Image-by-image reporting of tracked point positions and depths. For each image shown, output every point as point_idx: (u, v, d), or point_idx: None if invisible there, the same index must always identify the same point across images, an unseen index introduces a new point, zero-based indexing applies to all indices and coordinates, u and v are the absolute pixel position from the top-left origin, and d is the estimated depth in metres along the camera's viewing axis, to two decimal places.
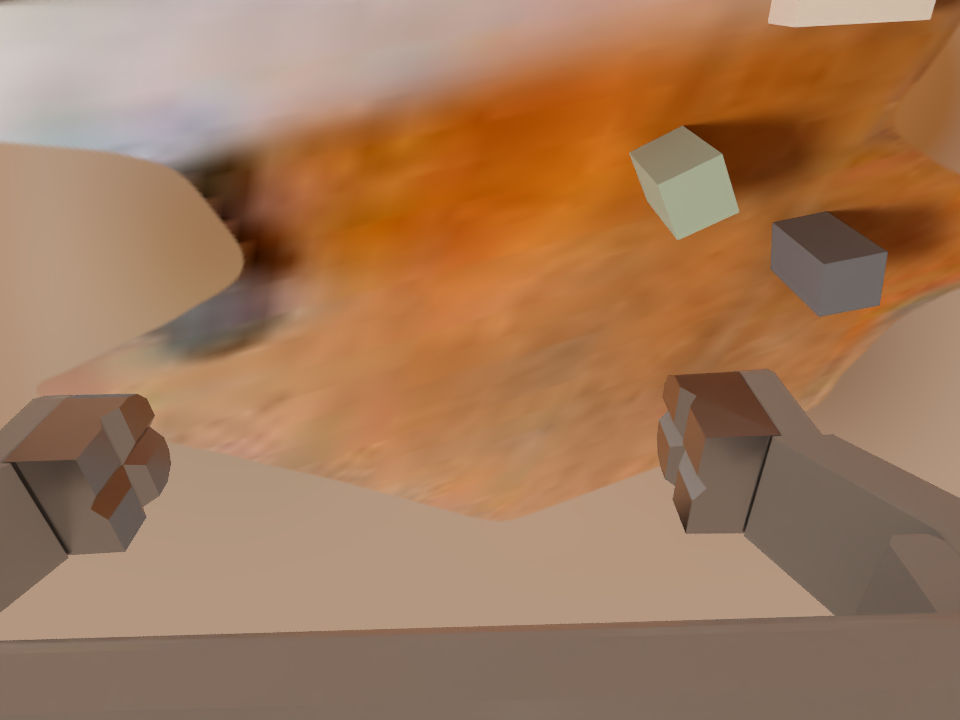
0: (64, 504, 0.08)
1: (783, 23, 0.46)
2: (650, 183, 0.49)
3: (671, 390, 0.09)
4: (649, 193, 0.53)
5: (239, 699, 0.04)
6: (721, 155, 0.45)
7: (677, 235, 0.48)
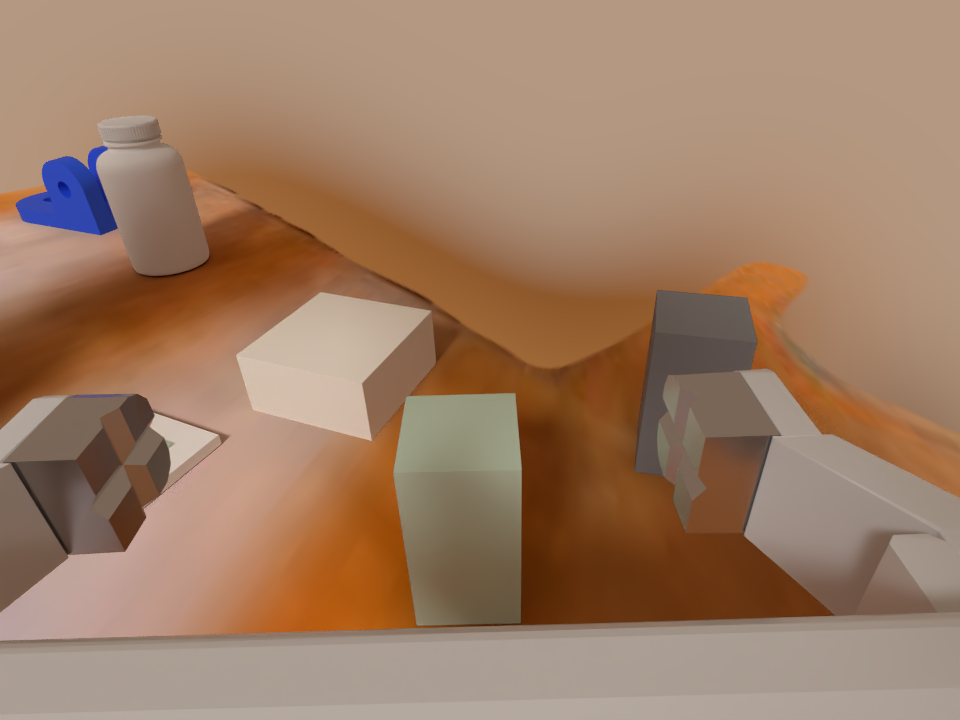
0: (64, 504, 0.08)
1: (364, 406, 0.39)
2: (427, 534, 0.25)
3: (671, 390, 0.09)
4: (474, 576, 0.27)
5: (239, 699, 0.04)
6: (408, 397, 0.27)
7: (511, 467, 0.23)
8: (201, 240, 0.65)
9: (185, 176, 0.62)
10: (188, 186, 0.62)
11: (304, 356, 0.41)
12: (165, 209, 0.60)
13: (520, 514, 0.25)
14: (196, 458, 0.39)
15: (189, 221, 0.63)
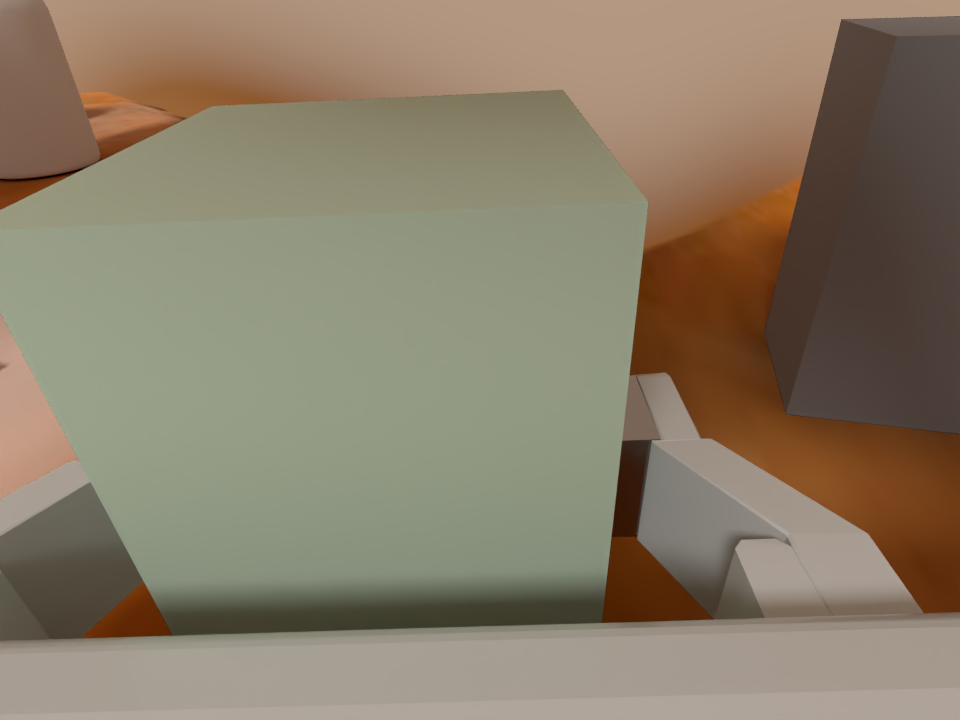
0: None
1: None
2: (228, 554, 0.06)
3: None
4: None
5: (239, 699, 0.04)
6: (217, 108, 0.09)
7: (589, 197, 0.04)
8: (81, 132, 0.46)
9: (51, 33, 0.43)
10: (57, 49, 0.44)
11: None
12: (16, 74, 0.42)
13: (614, 465, 0.06)
14: None
15: (59, 99, 0.44)
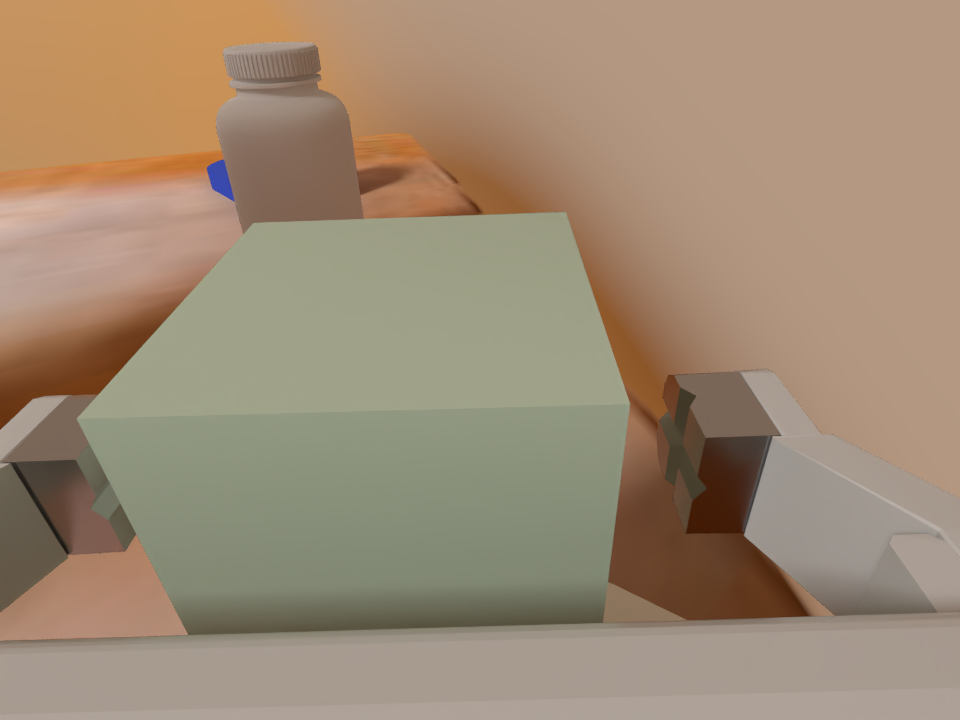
0: (64, 504, 0.08)
1: None
2: None
3: (671, 390, 0.09)
4: None
5: (239, 699, 0.04)
6: (258, 225, 0.10)
7: (582, 396, 0.05)
8: None
9: (344, 149, 0.37)
10: (347, 167, 0.37)
11: None
12: (298, 201, 0.36)
13: (603, 582, 0.07)
14: None
15: None
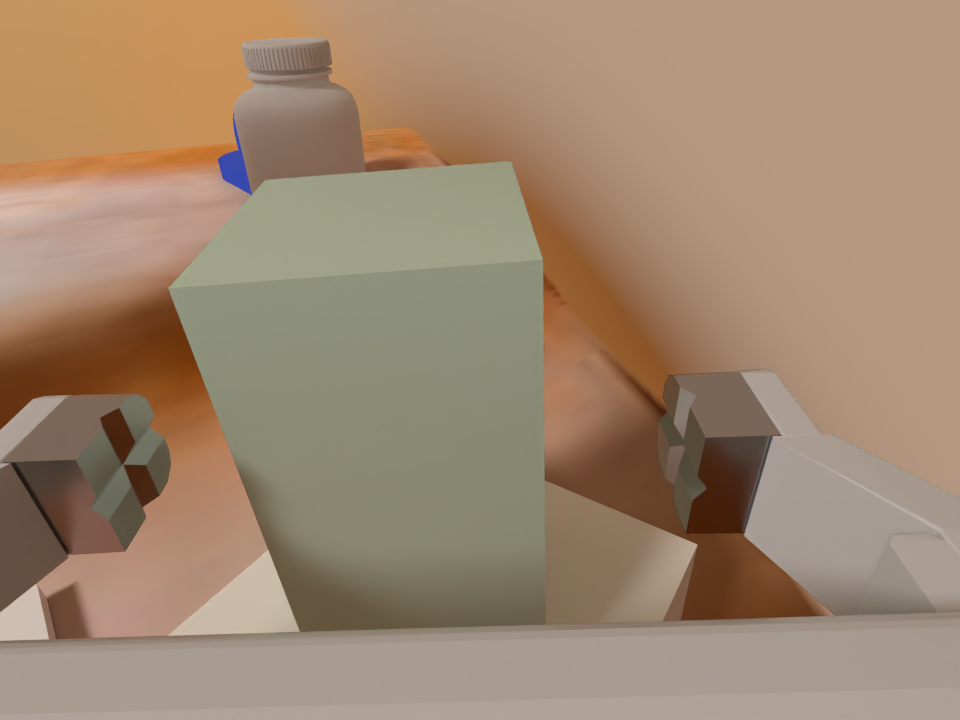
0: (64, 504, 0.08)
1: None
2: (304, 478, 0.10)
3: (671, 390, 0.09)
4: (437, 579, 0.11)
5: (239, 699, 0.04)
6: (269, 181, 0.12)
7: (511, 257, 0.08)
8: None
9: (353, 138, 0.39)
10: (356, 154, 0.40)
11: None
12: None
13: (541, 409, 0.09)
14: None
15: None
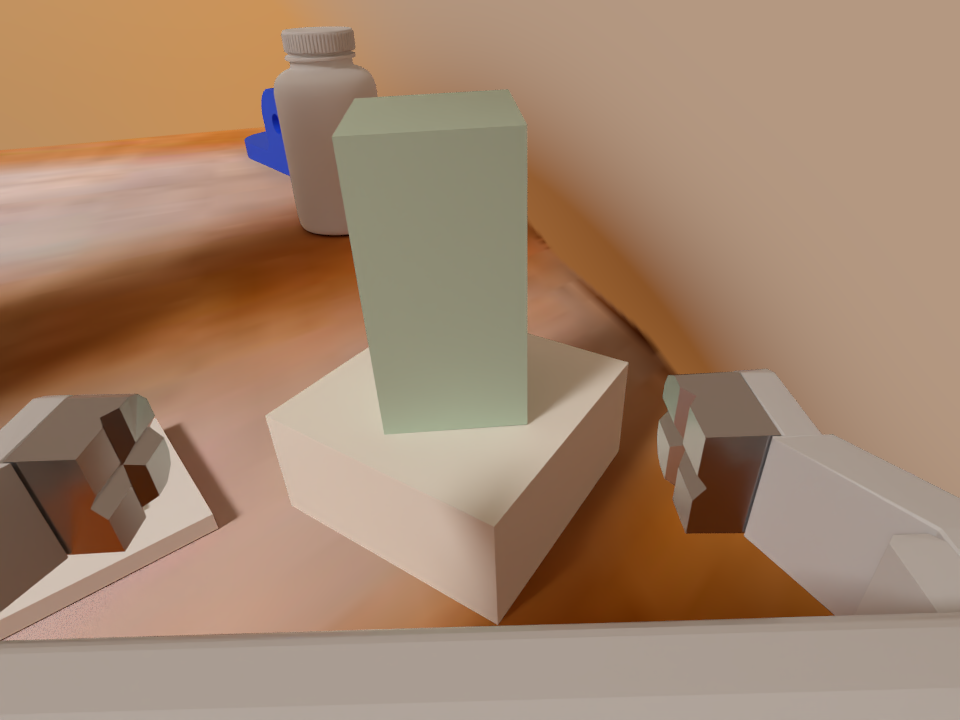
0: (64, 504, 0.08)
1: (491, 567, 0.18)
2: (390, 262, 0.17)
3: (671, 390, 0.09)
4: (462, 341, 0.19)
5: (239, 699, 0.04)
6: (357, 99, 0.19)
7: (511, 124, 0.15)
8: None
9: None
10: None
11: (385, 435, 0.21)
12: None
13: (525, 219, 0.17)
14: (160, 549, 0.22)
15: None
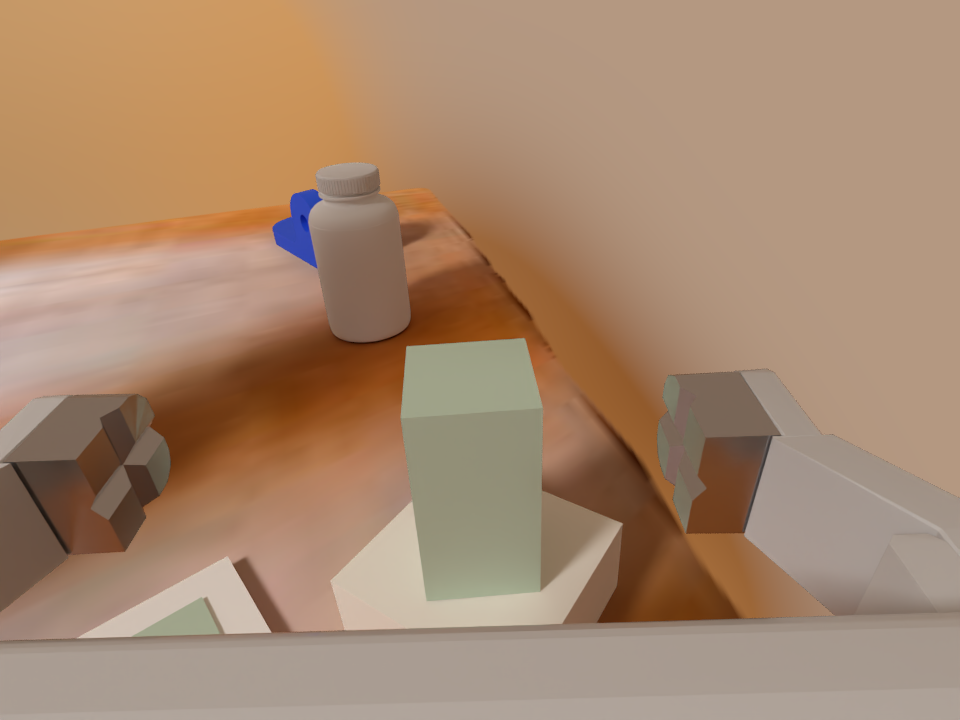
0: (64, 504, 0.08)
1: None
2: (438, 491, 0.23)
3: (671, 390, 0.09)
4: (490, 538, 0.24)
5: (239, 699, 0.04)
6: (408, 347, 0.25)
7: (531, 406, 0.21)
8: (400, 308, 0.56)
9: (396, 236, 0.53)
10: (397, 247, 0.53)
11: (428, 603, 0.26)
12: (365, 273, 0.52)
13: (540, 462, 0.22)
14: None
15: (390, 287, 0.54)
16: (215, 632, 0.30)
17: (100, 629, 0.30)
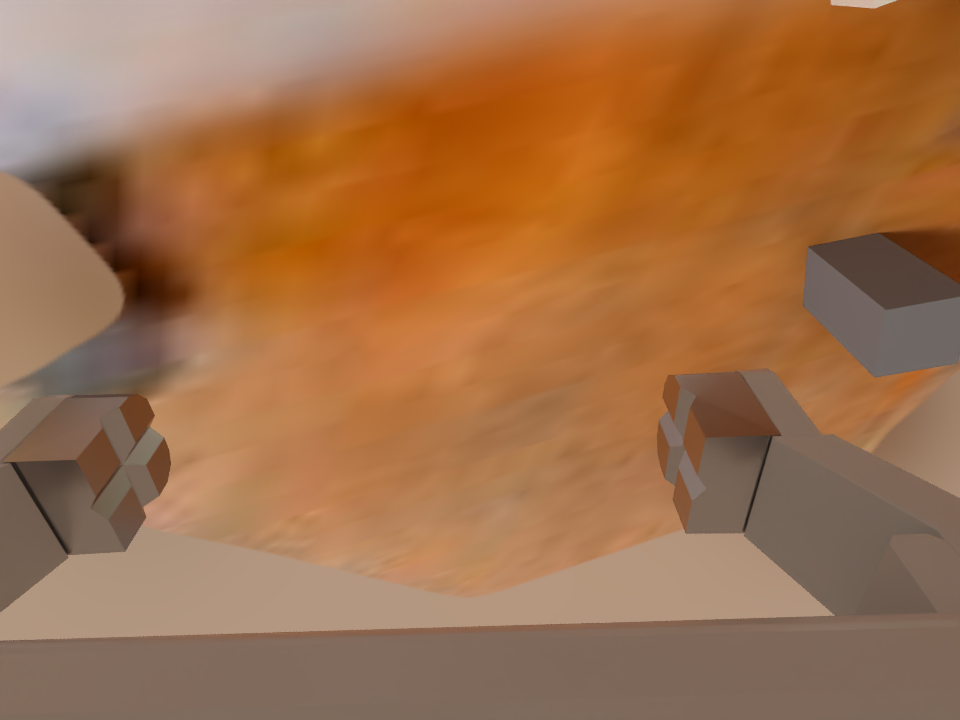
0: (64, 504, 0.08)
1: (855, 4, 0.34)
2: None
3: (671, 390, 0.09)
4: None
5: (239, 699, 0.04)
6: None
7: None
8: None
9: None
10: None
11: None
12: None
13: None
14: None
15: None
16: None
17: None
